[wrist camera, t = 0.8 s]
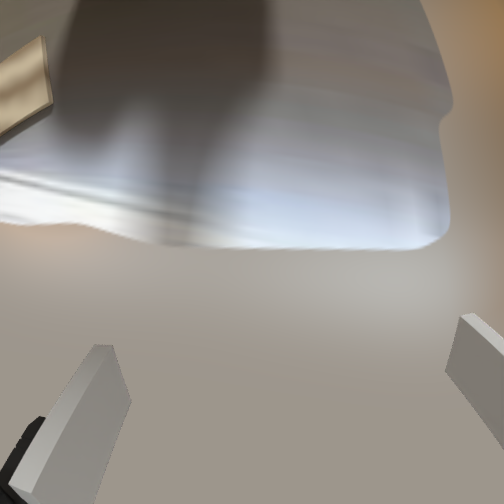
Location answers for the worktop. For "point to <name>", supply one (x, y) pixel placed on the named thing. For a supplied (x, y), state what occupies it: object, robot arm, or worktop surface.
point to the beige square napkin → (24, 84)
